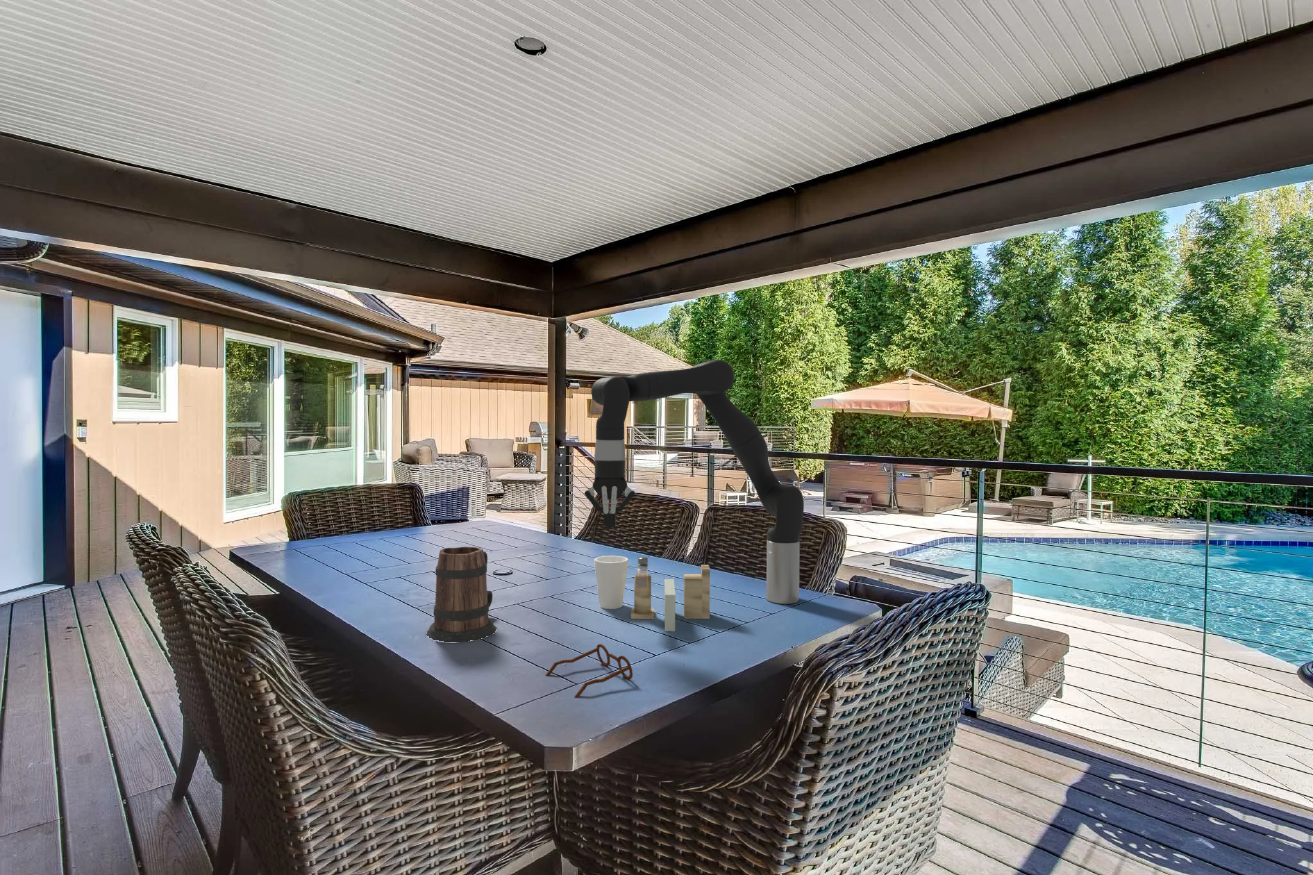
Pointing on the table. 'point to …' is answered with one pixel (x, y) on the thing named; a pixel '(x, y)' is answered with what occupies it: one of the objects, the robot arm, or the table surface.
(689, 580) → the keeper
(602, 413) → the robot arm
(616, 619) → the table surface
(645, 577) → the bar
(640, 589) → the post
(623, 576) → the foam cup
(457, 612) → the tankard
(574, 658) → the glasses
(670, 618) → the door edge
